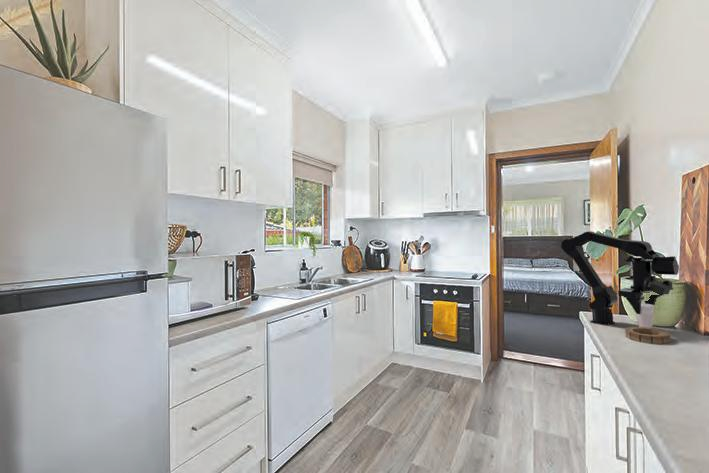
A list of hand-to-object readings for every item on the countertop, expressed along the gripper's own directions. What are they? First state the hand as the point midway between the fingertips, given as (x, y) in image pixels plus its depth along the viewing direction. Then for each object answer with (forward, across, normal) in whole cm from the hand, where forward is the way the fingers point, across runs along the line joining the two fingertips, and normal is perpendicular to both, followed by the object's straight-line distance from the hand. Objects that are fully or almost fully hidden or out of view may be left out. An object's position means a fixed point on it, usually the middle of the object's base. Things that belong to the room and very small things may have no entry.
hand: (644, 312), depth 130 cm
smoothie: (+7, 0, 0) cm, 7 cm away
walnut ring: (+7, -10, -7) cm, 14 cm away
